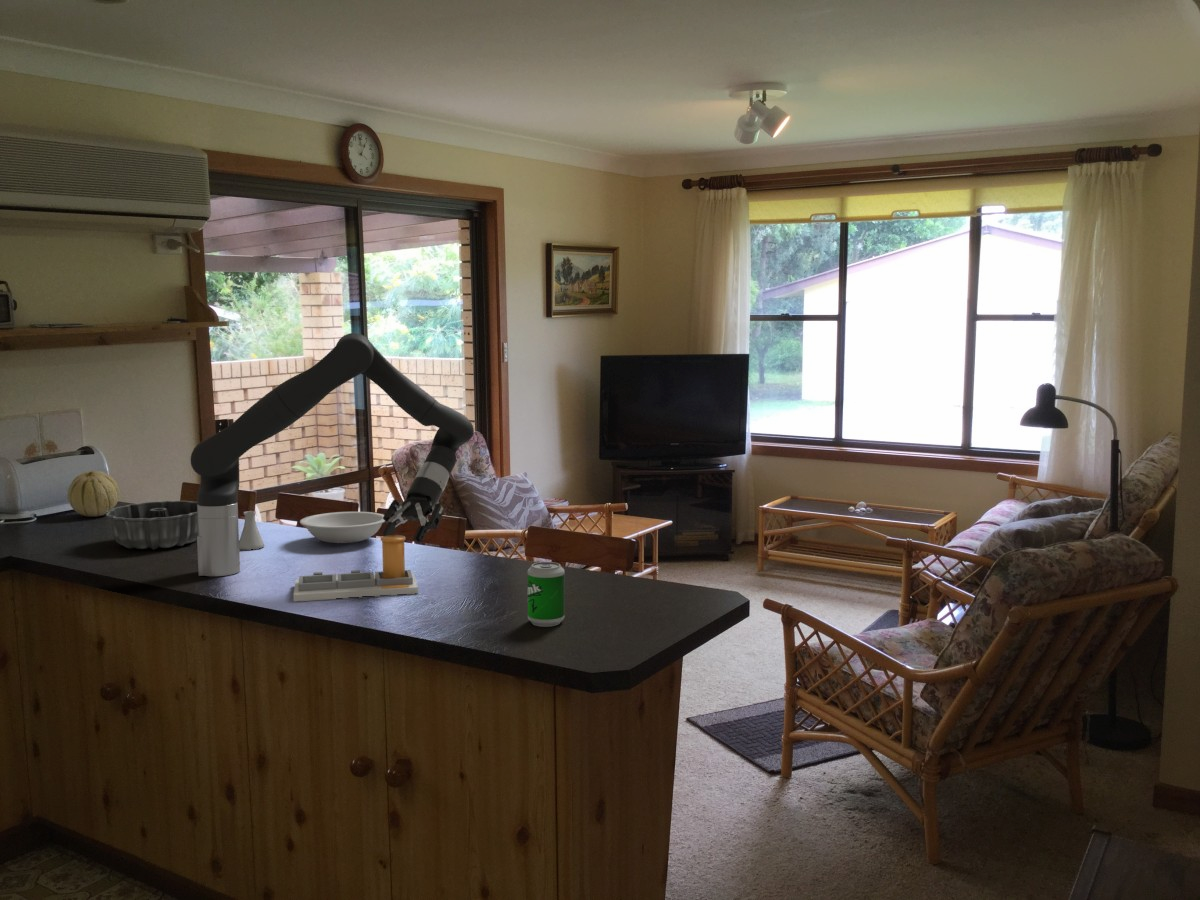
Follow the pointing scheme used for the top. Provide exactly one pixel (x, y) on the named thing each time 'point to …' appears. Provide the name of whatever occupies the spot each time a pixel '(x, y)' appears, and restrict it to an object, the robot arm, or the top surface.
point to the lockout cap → (393, 556)
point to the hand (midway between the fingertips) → (401, 540)
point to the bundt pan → (154, 524)
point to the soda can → (546, 594)
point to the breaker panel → (352, 585)
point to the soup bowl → (343, 526)
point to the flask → (250, 533)
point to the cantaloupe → (93, 493)
